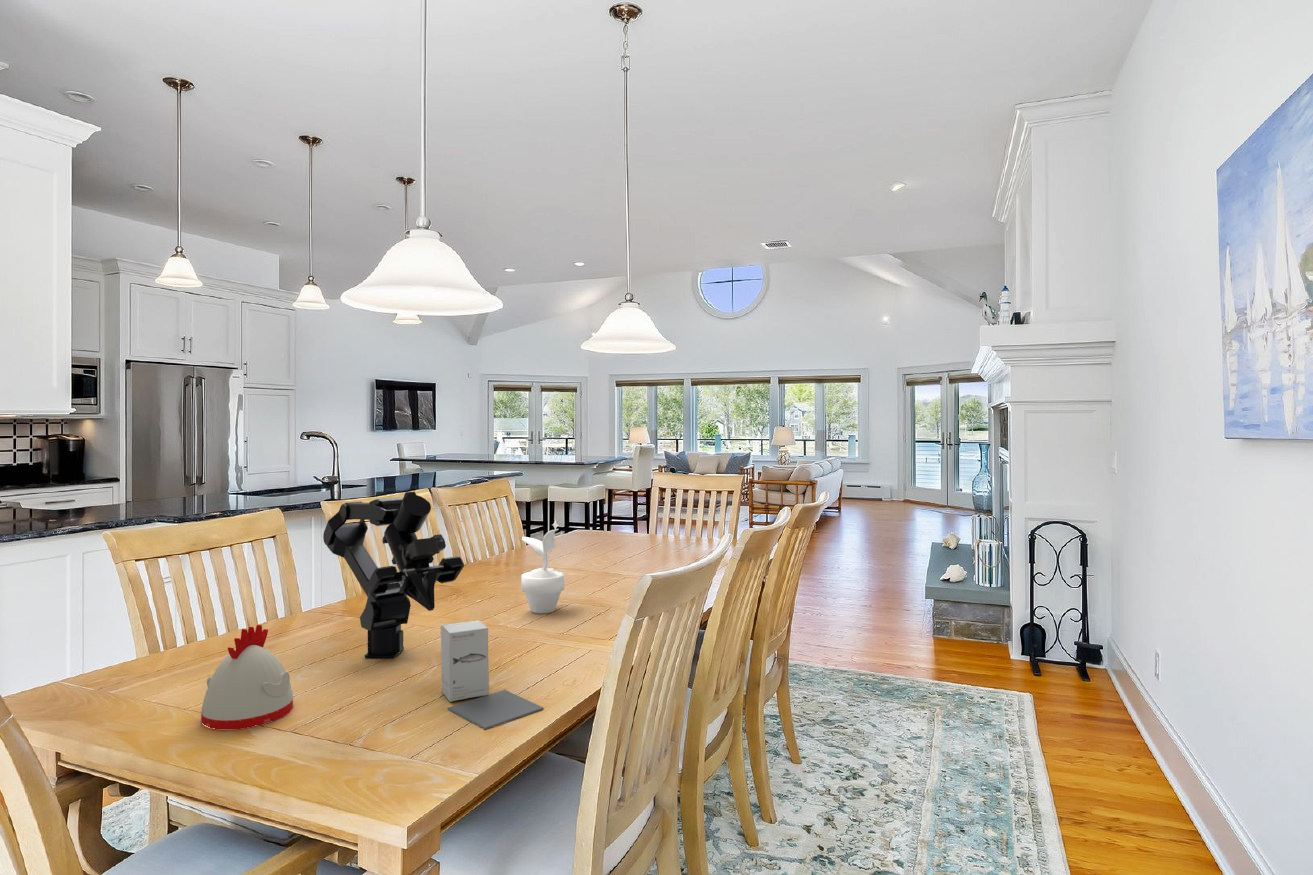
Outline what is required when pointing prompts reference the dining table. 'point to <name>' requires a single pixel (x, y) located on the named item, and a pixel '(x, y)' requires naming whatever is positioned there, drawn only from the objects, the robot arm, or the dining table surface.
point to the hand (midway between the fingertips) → (432, 609)
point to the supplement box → (464, 660)
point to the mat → (495, 709)
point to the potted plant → (543, 577)
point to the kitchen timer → (247, 686)
